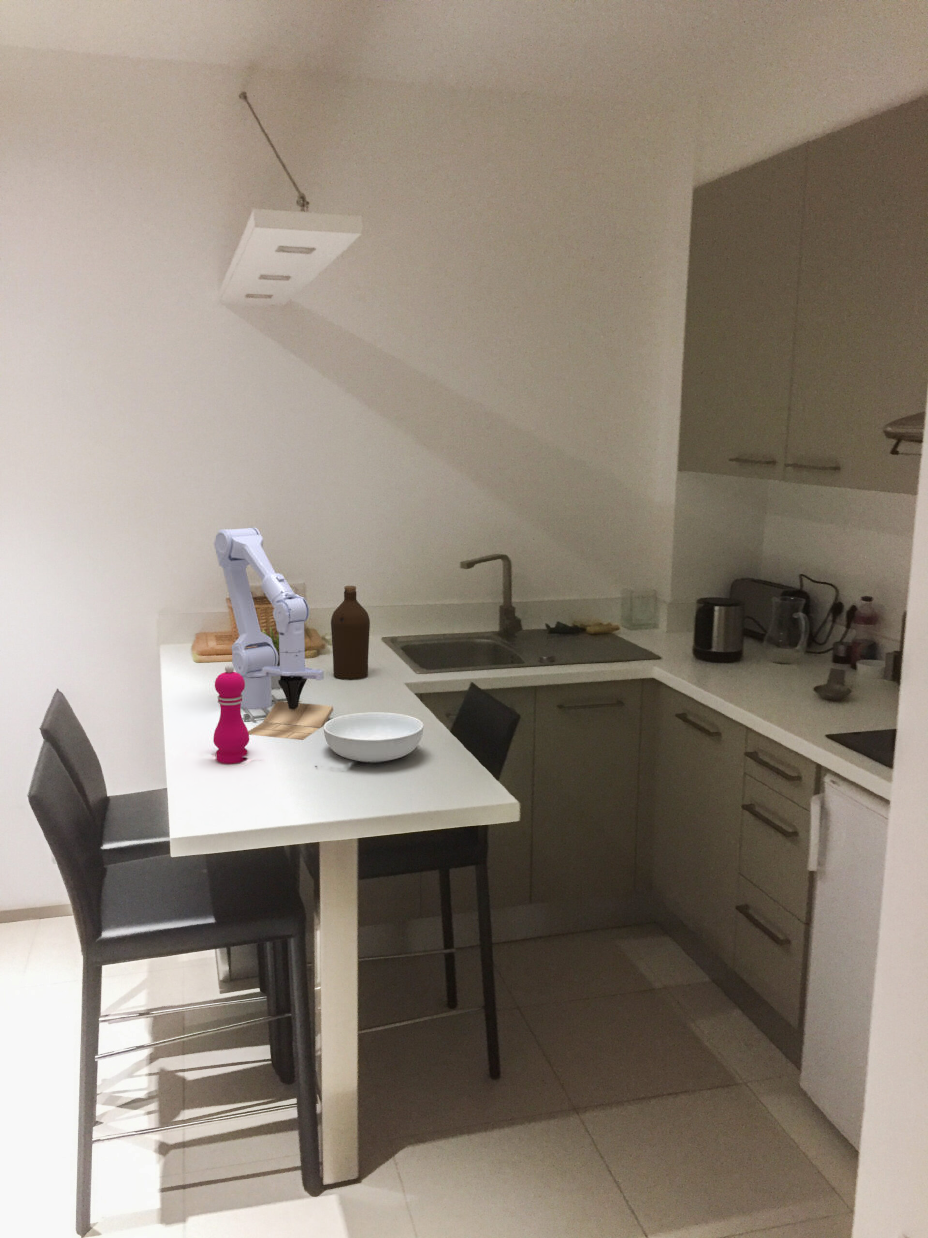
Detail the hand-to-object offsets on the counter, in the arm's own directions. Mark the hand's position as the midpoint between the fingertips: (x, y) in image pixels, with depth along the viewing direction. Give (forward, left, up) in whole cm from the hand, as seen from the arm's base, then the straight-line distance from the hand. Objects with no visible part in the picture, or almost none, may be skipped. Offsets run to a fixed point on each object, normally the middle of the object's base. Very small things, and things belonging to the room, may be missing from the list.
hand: (293, 708), depth 234 cm
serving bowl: (+26, -16, -4) cm, 31 cm away
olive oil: (-4, +47, -4) cm, 47 cm away
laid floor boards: (+2, -10, -4) cm, 11 cm away
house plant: (-18, +29, -4) cm, 34 cm away
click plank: (+2, -1, -2) cm, 3 cm away
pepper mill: (-1, -27, -4) cm, 28 cm away
